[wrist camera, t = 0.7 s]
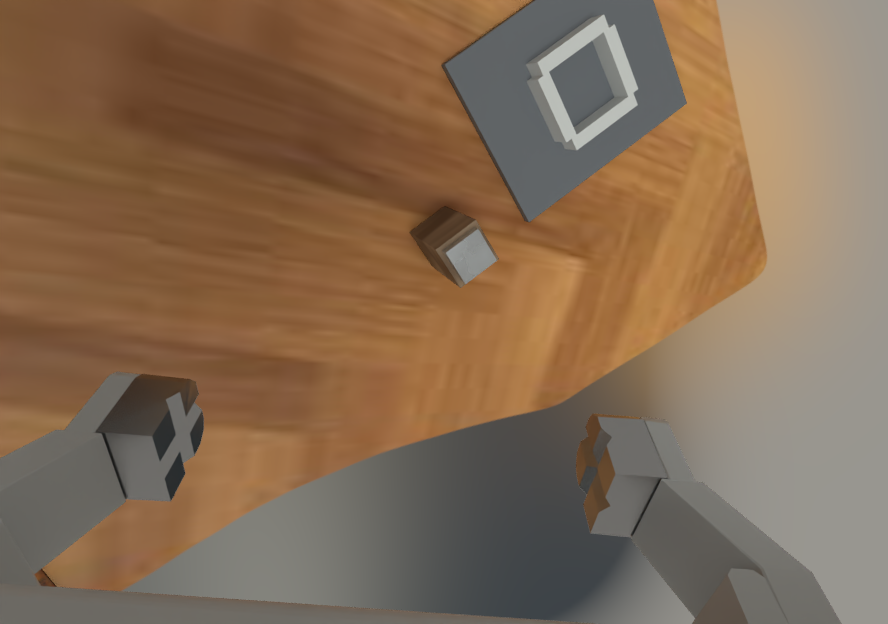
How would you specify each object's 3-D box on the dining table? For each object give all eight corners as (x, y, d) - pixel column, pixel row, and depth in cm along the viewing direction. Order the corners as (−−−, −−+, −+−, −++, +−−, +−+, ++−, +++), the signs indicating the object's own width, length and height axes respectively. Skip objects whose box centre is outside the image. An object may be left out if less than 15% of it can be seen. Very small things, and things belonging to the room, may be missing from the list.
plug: (409, 232, 49) (439, 252, 42) (444, 206, 49) (479, 221, 42) (432, 266, 50) (464, 290, 43) (466, 241, 51) (503, 261, 44)
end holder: (441, 65, 45) (453, 62, 42) (625, -65, 47) (646, -75, 44) (525, 220, 52) (539, 225, 50) (680, 103, 54) (702, 102, 51)
